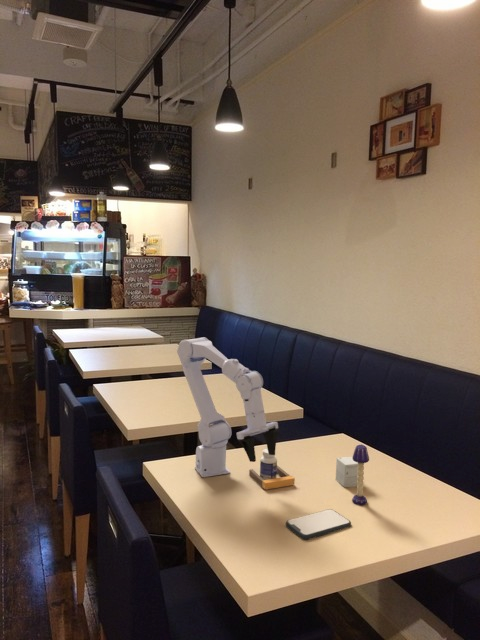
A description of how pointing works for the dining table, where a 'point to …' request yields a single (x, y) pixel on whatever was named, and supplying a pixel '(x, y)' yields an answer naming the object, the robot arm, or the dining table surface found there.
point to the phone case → (317, 524)
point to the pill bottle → (268, 466)
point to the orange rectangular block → (278, 482)
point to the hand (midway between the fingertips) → (262, 457)
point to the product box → (346, 471)
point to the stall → (259, 479)
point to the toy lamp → (360, 473)
